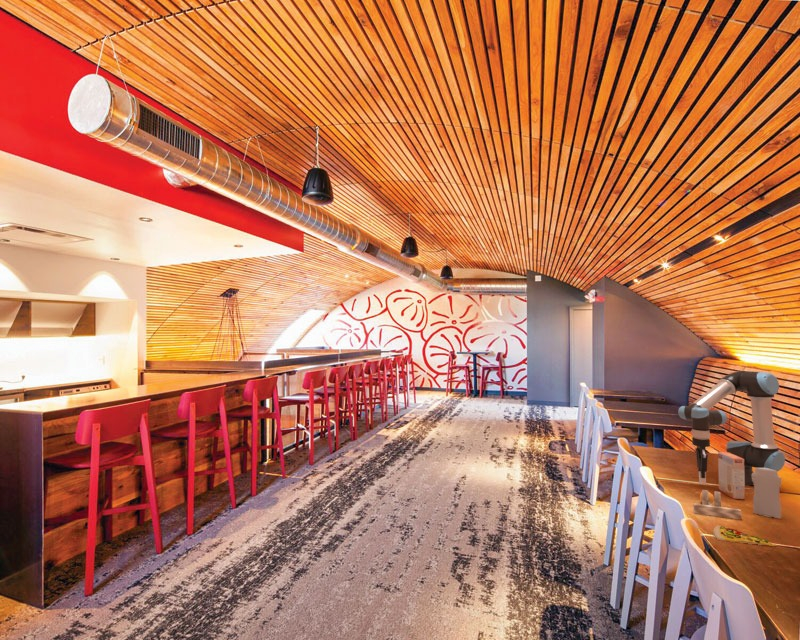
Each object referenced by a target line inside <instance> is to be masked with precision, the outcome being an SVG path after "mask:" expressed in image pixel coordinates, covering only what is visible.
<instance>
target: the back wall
mask: <svg viewBox="0 0 800 640" xmlns="http://www.w3.org/2000/svg"><path fill="white" fill-rule="evenodd" d="M693 513H694V515H695V514H696V515H702V514H703V516H709V515H711V516H710V517H717V516H718V518H724V517H725V518H726V519H731V518H733V519H732V520H738V519H741V520H740V521H742V519H743V518H742V517H743V515H742V510H741V509H739V508H730V507H725V506H721V507H718V506H715V505H714V506H710V505H702V504H701V503H693Z"/></svg>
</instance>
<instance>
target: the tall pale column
mask: <svg viewBox="0 0 800 640" xmlns="http://www.w3.org/2000/svg"><path fill="white" fill-rule="evenodd" d="M752 481H753V483H754V484H753V485H754V486H753V494H754V495H753V498H752V501H753V503H752V504H753V507H752V508H753V514H754V513H755V515H757V514H759V516H762V515H763V516H762V517H765V516H766V518H772V517H774V518H773V519H779V520H780V519H782V503H781V500H780V490H781V486H782V477H780V476H779V474H778V472H777V471H776V470H772V469H769V468H755V467H754V471H753V473H752Z"/></svg>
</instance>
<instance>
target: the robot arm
mask: <svg viewBox="0 0 800 640" xmlns="http://www.w3.org/2000/svg"><path fill="white" fill-rule="evenodd" d="M779 390H780V382H779V380H778V378H777V376H775V375H774V374H772V373H769V372H764V371H746V370H737V371H734V372H731V373H728V374H727V375H725V376H723V377H721V378H720V379H718V381H717V383H716V385H714V386H713V387H711V388H710V389H709V390H708V391H706V392H705V393H704V394H702V395H701V396H700V397H698V398H697V399H696V400H695V401H693V402H692V403H691V404H689V405H681V406H680V407H679V408H678V411H677V413H678V416H679V418H680V419H683V420H685V421H691V430H690V433H691V435H692V438H691V439H692V440H691V441H692V443H691V444H692V445H693V446H696V448H694V449H695V456H696V467H697V471H698V483H699V485H707V474H706V473H707V472H708V457H709V455H708V450H707V448H710V446H711V440H710V437H711V434H710V426H721V425H724V424H726V422H727V421H728V417H727V414H726V413H725V412H724V411H722V410H720V409H719V410H718V409H714V410H712V408H714V406H716V405H717V404H718V403H720V402H721V401H722V400H723V399H725V398H726V397H727V396H729V395H733V394H735V393H736V392H746V396H747V398H749V399H750V404H751V405H750V406H751V417H752V418H751V419H752V431H753V442H751V441H746V440H745V441H743V440H730V441H727V443H726V448H725V449H726V452H728V453H731V454H734V455H736V456H738V457H740V458H743V459H744V475H745V486H747V485H753V484H754V483H753V481H752V473H754V471H753V468H754V469H755V468H769V469H772V470H776V471H777V473H778V472H780V471H781V470H782V469H783V468H784V466H785V463H786V456H785V454H784V453H783V452H782V451H780V449H779V446H778V444H776V443H775V434H774V423H773V421H774V419H773V411H772V409H773V408H772V399H774V398H775V395H776V394H777V393H778V392H779Z"/></svg>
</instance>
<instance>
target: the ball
mask: <svg viewBox="0 0 800 640" xmlns="http://www.w3.org/2000/svg"><path fill="white" fill-rule="evenodd" d="M699 500H700V501H701V502H702V491H701V492H700V494H699ZM708 502H710V503H712V504H713V503H715V497H714V494H712V493H711V492H710V491H708Z"/></svg>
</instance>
